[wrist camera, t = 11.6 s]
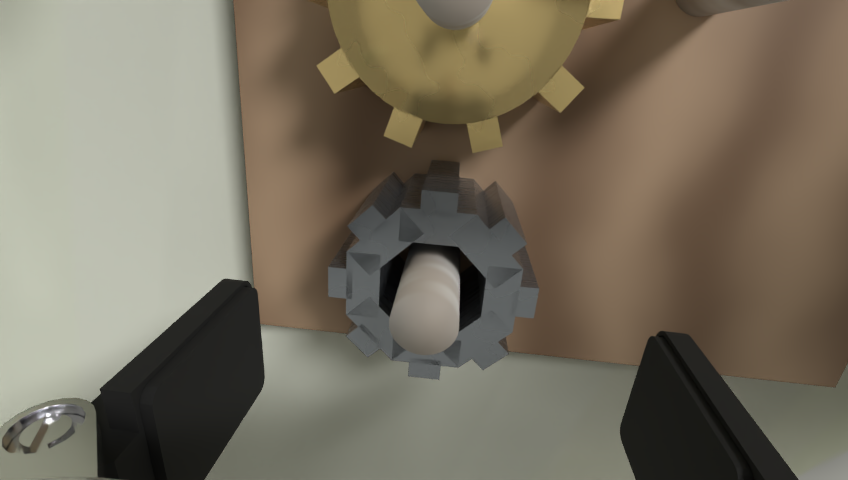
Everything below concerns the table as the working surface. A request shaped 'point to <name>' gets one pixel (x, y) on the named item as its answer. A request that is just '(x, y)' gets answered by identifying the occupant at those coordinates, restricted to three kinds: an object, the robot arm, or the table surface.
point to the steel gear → (441, 225)
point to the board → (587, 184)
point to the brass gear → (459, 60)
